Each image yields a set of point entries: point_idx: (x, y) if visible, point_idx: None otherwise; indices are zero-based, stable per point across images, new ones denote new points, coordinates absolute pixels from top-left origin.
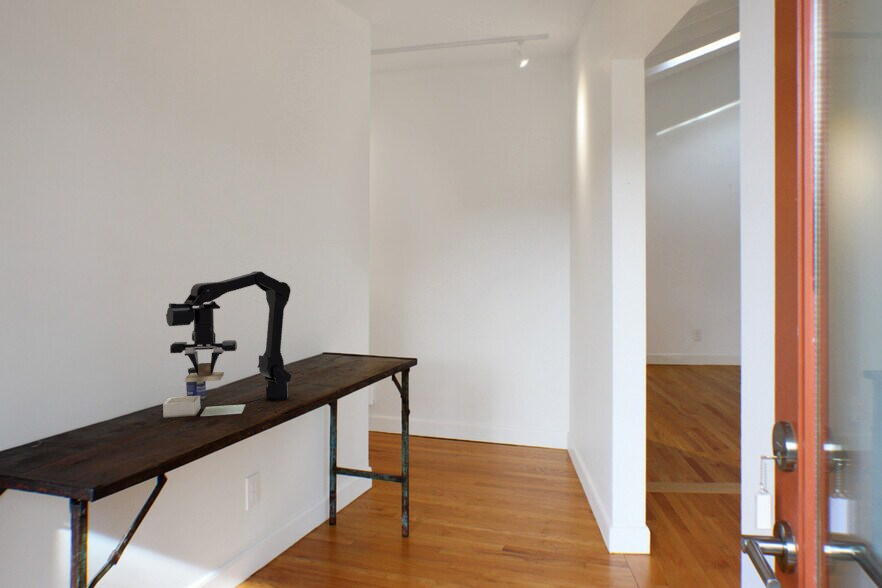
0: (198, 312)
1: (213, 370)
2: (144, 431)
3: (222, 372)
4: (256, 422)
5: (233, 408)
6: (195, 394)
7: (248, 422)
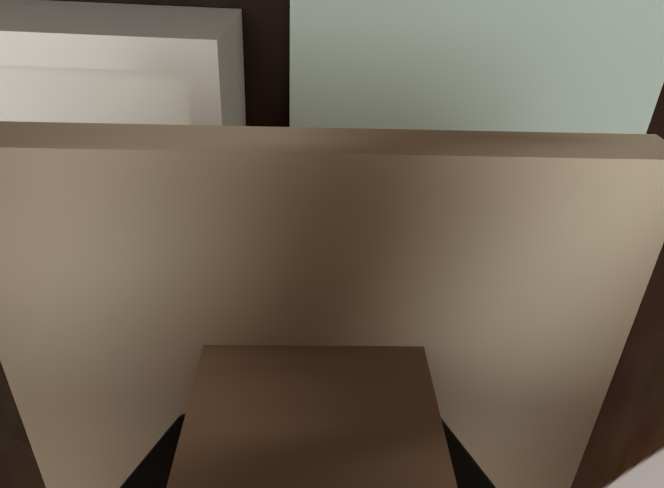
0: None
1: (469, 457)
2: (37, 469)
3: (638, 248)
4: (623, 471)
5: (552, 129)
6: None
7: (583, 462)
